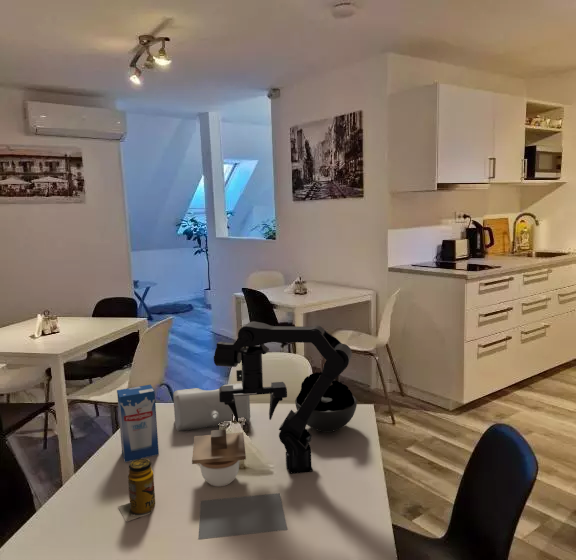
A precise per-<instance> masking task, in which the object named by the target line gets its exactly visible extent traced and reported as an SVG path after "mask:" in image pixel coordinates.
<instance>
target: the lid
mask: <svg viewBox="0 0 576 560" xmlns="http://www.w3.org/2000/svg"><path fill="white" fill-rule="evenodd" d="M244 435H245V434H244V431H243V432H234V433H233V432H232V433H227V429H215V430H210V434H206V435H205V434H204V435H194V436H193V439H194V440H193V448H192V457H191V458H192V459H191V464H192V465H197V464H199V465H200V463H211V462H222V461H234V460H239V461H244V460H245V461H246V459H247V455H246V447H245V437H244Z"/></svg>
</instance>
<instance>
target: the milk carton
mask: <svg viewBox="0 0 576 560" xmlns="http://www.w3.org/2000/svg"><path fill="white" fill-rule="evenodd" d="M116 393H117V405H118V407H117V408H118V419H119V429H120V430H119V433H120V442H121V453H122V457H123V460H124V463H128V462H132V461H134V460H136V459H142V458H143V459H147V458H150V457H154V456H159V453H160V451H159V450H160V449H159V438H158V437H159V436H158V422H157V407H156V394H155V393H156V391H155V389H154V387H153V386H152V384H145V385H139V386H135V387H128V388H123V389H117V390H116Z"/></svg>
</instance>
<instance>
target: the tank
mask: <svg viewBox="0 0 576 560" xmlns="http://www.w3.org/2000/svg"><path fill="white" fill-rule="evenodd" d="M229 385H233V389H243V387H242V382H239V383H237V382H236V383H230V384H224V385H222V386H229ZM172 396H173V411H174V422H175V423H174V425H175V429H176V431H178V432H180V431H181V432H183V431H190V430H196V429H198V430H199V429H203V428H204V429H205V428H212V427H213V428H214V427H218V424H219V423H221V422H224V421H231V416H232V413H233V412H232V410H231V408H230V407H229V405H225V403H224V402H220V398H219V388H218V389H211V390H205V389H201V388H198V387H197V388H196V387H194V388H187V389H177V390H175V391H174V392H173V395H172ZM250 397H251V396H250V395H246V396H235V401H236V407H237V412H238V418H241V417H244V418H245V419H246V421H247V422H246V423H248V422H249V421H250V420H251V402H250V401H251V400H250Z"/></svg>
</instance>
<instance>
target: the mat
mask: <svg viewBox="0 0 576 560" xmlns="http://www.w3.org/2000/svg"><path fill="white" fill-rule="evenodd" d="M199 506H200V507H199V508H200V509H199V521H198V537H197V538H198V539H197V540H205V539H215V538H216V539H217V538H226V537H232V536H233V537H235V536H243V535H253V534H262V533H271V532H272V533H273V532H280V531H287V530H288V526H287V520H286V517H285V510H284V506H283V500H282V496H281V492H279V493H278V492H276V493H275V492H274V493H267V494H266V493H265V494H257V495H246V496H236V497H234V496H233V497H227V498H226V497H225V498H217V499H206V500H200V504H199Z"/></svg>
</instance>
